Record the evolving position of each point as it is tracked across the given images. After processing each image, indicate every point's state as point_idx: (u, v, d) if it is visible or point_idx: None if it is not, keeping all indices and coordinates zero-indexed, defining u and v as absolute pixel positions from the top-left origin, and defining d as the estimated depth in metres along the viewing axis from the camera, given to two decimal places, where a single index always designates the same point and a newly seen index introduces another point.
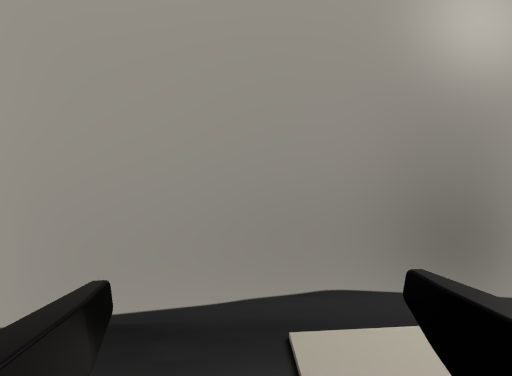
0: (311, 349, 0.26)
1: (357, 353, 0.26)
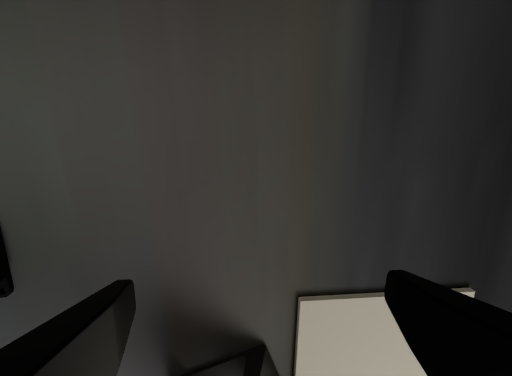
0: None
1: None
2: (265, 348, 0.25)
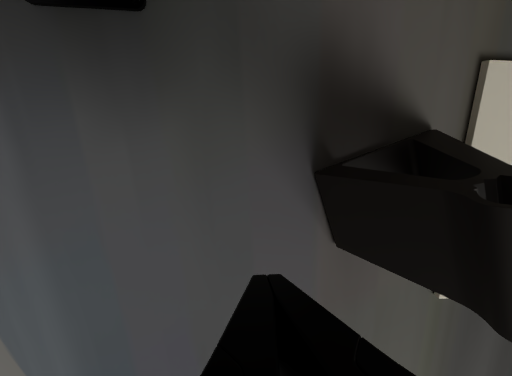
0: None
1: None
2: (435, 130, 0.20)
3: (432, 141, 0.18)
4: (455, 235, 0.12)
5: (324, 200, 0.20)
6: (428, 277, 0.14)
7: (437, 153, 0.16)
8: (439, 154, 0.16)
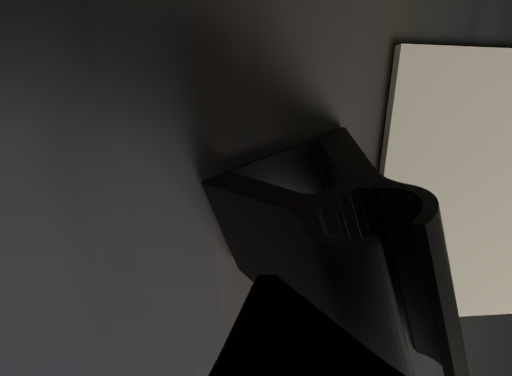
0: None
1: None
2: (344, 128, 0.17)
3: (330, 141, 0.15)
4: (310, 269, 0.09)
5: (215, 214, 0.17)
6: None
7: (327, 156, 0.13)
8: (328, 157, 0.13)
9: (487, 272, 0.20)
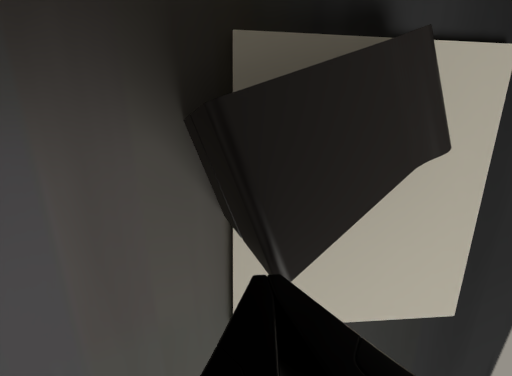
0: (476, 74, 0.16)
1: None
2: None
3: None
4: (401, 86, 0.13)
5: (252, 165, 0.08)
6: (396, 166, 0.13)
7: None
8: None
9: (363, 276, 0.19)
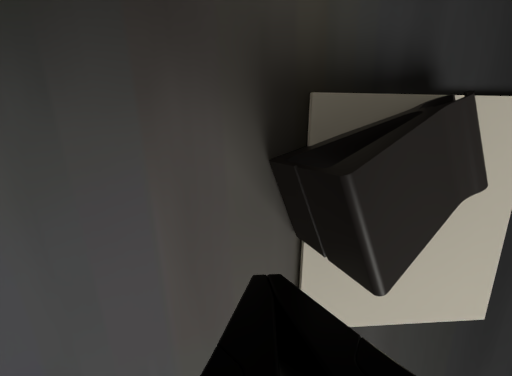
0: (505, 120, 0.20)
1: None
2: (275, 158, 0.20)
3: (312, 147, 0.18)
4: (452, 141, 0.16)
5: (367, 215, 0.12)
6: (448, 203, 0.16)
7: (340, 142, 0.18)
8: (345, 140, 0.18)
9: (408, 285, 0.23)
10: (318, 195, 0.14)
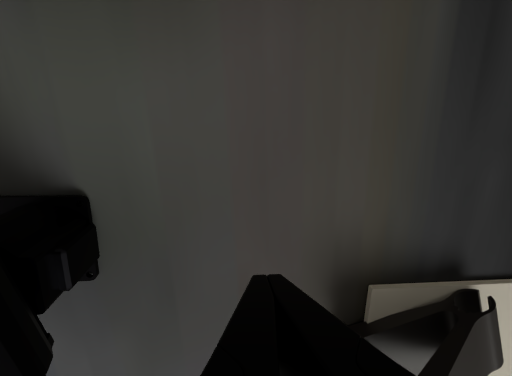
0: None
1: None
2: None
3: (371, 329, 0.24)
4: (479, 342, 0.22)
5: None
6: None
7: (393, 329, 0.24)
8: (397, 327, 0.24)
9: None
10: None
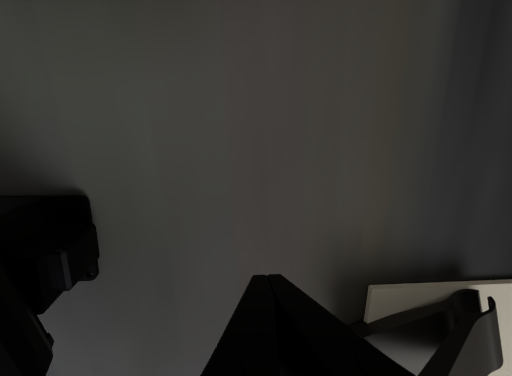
0: None
1: None
2: None
3: (371, 329, 0.24)
4: (479, 342, 0.22)
5: None
6: None
7: (393, 330, 0.24)
8: (397, 327, 0.24)
9: None
10: None
